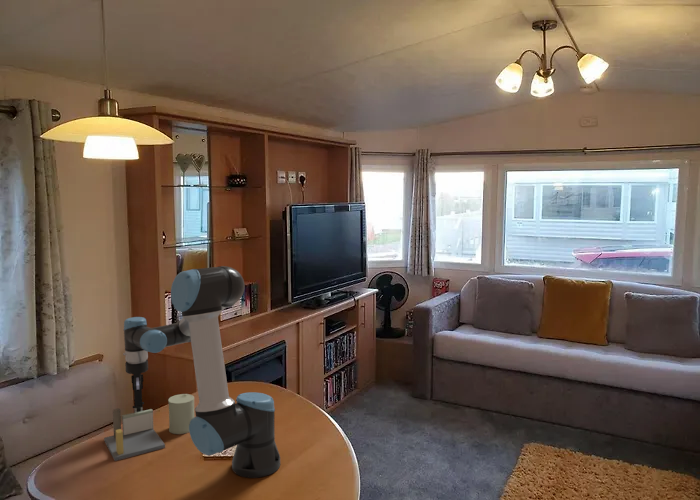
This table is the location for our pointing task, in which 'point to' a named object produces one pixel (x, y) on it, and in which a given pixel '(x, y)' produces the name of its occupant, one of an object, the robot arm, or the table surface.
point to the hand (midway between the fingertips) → (139, 423)
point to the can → (180, 413)
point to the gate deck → (131, 441)
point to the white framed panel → (137, 421)
